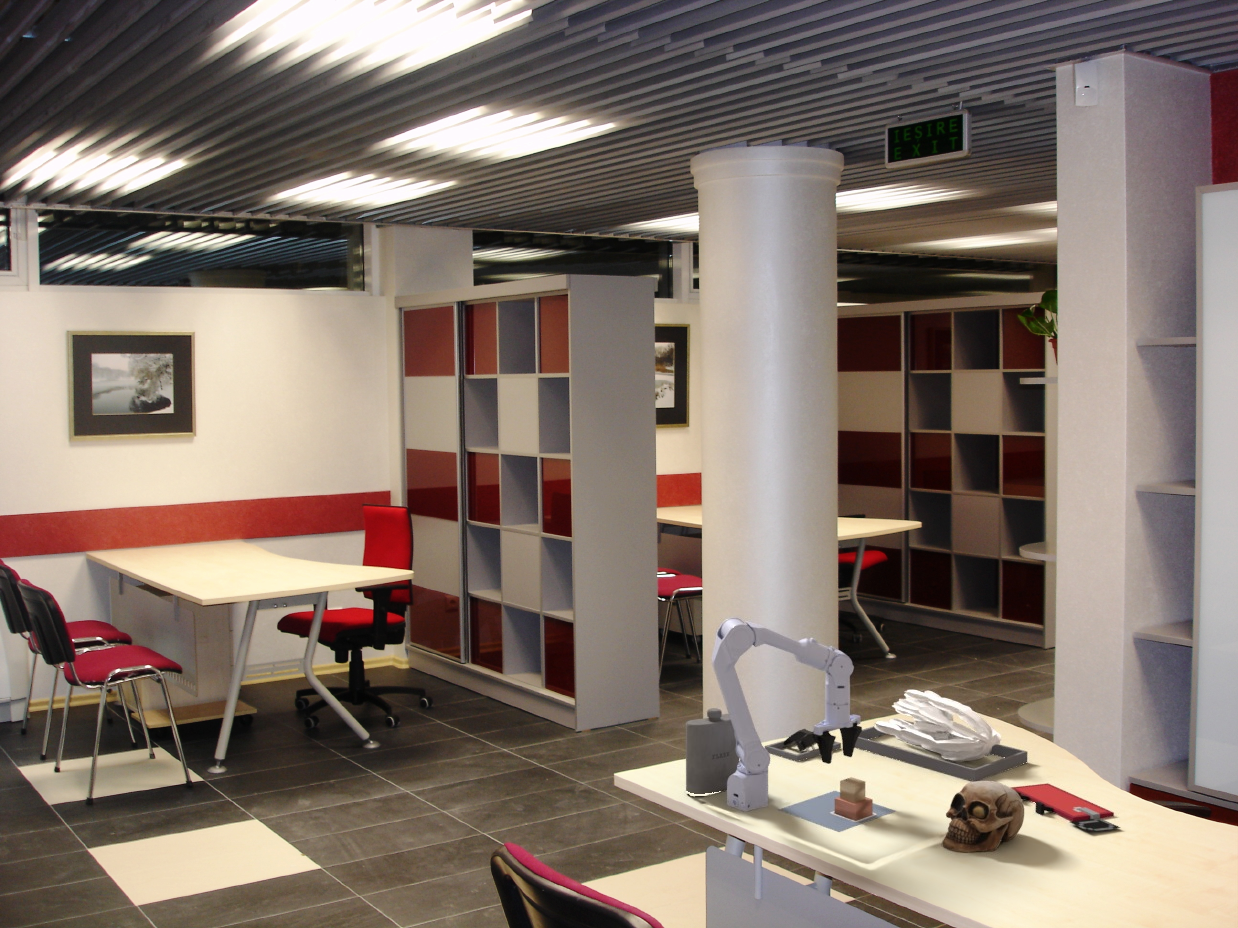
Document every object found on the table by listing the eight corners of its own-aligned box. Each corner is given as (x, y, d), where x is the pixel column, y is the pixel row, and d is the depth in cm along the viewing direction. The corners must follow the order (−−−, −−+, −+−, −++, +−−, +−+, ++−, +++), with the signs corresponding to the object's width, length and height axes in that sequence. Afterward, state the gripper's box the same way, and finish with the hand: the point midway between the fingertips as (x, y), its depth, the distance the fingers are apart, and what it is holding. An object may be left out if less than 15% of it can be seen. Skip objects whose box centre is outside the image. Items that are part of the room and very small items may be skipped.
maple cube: (853, 802, 262) (854, 785, 262) (840, 798, 265) (840, 780, 265) (865, 798, 264) (865, 781, 264) (851, 794, 267) (851, 776, 267)
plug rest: (797, 761, 306) (797, 755, 306) (764, 751, 315) (764, 745, 315) (840, 748, 317) (840, 742, 317) (808, 738, 326) (808, 733, 326)
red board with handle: (1082, 836, 253) (1138, 829, 258) (1082, 823, 253) (1138, 816, 258) (996, 794, 282) (1047, 788, 286) (996, 783, 281) (1048, 777, 286)
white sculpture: (1024, 727, 303) (929, 695, 334) (982, 697, 295) (888, 667, 326) (997, 786, 300) (903, 748, 330) (953, 758, 292) (862, 722, 323)
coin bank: (939, 848, 246) (943, 784, 247) (950, 829, 262) (954, 769, 262) (1017, 862, 240) (1021, 797, 240) (1024, 841, 256) (1027, 780, 256)
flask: (696, 799, 278) (695, 716, 276) (681, 792, 283) (681, 711, 281) (745, 788, 286) (745, 707, 284) (731, 781, 290) (730, 702, 289)
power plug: (783, 741, 322) (813, 723, 315) (797, 767, 320) (827, 749, 313) (771, 746, 318) (801, 727, 311) (785, 772, 316) (815, 753, 309)
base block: (855, 820, 260) (855, 805, 260) (834, 813, 265) (834, 798, 265) (872, 814, 264) (872, 799, 264) (851, 807, 269) (851, 792, 269)
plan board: (838, 836, 254) (838, 831, 254) (777, 813, 268) (777, 808, 268) (896, 814, 267) (896, 810, 266) (835, 794, 280) (835, 790, 280)
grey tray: (974, 781, 289) (974, 770, 289) (845, 744, 320) (845, 734, 320) (1027, 762, 304) (1027, 751, 304) (899, 729, 335) (899, 718, 335)
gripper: (830, 710, 266) (830, 769, 267) (870, 700, 275) (870, 756, 276) (806, 704, 271) (806, 762, 272) (847, 694, 280) (847, 750, 281)
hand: (837, 759), depth 274 cm, fingers open, 7 cm apart
